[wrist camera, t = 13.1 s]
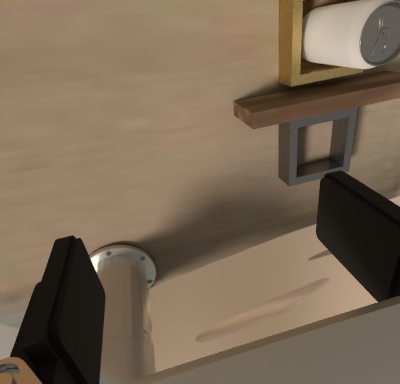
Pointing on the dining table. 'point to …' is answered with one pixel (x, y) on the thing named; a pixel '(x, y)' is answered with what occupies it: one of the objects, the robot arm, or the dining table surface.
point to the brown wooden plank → (317, 99)
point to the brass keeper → (291, 49)
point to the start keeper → (316, 170)
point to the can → (352, 34)
